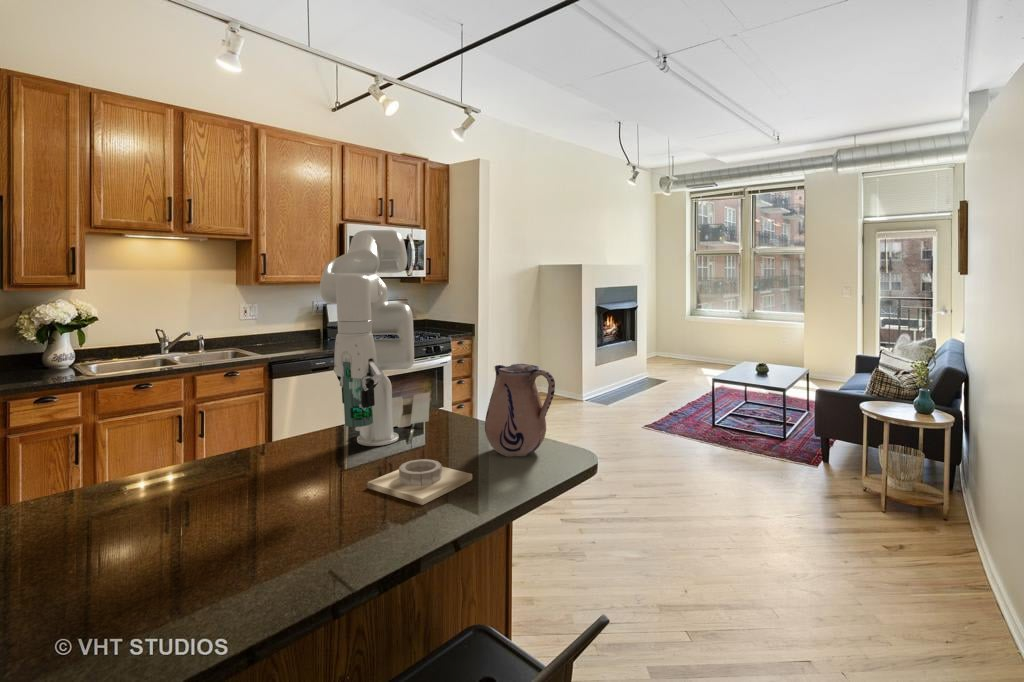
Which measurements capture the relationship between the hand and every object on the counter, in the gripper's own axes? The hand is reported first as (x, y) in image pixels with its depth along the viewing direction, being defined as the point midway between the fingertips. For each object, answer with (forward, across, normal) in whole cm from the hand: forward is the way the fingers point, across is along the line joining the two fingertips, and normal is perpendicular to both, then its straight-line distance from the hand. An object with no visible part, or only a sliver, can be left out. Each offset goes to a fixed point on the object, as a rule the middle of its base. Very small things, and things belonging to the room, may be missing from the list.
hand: (358, 403), depth 130 cm
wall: (+22, -35, +49) cm, 64 cm away
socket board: (+21, +9, +11) cm, 25 cm away
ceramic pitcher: (+22, +16, +44) cm, 52 cm away
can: (+5, 0, 0) cm, 5 cm away
